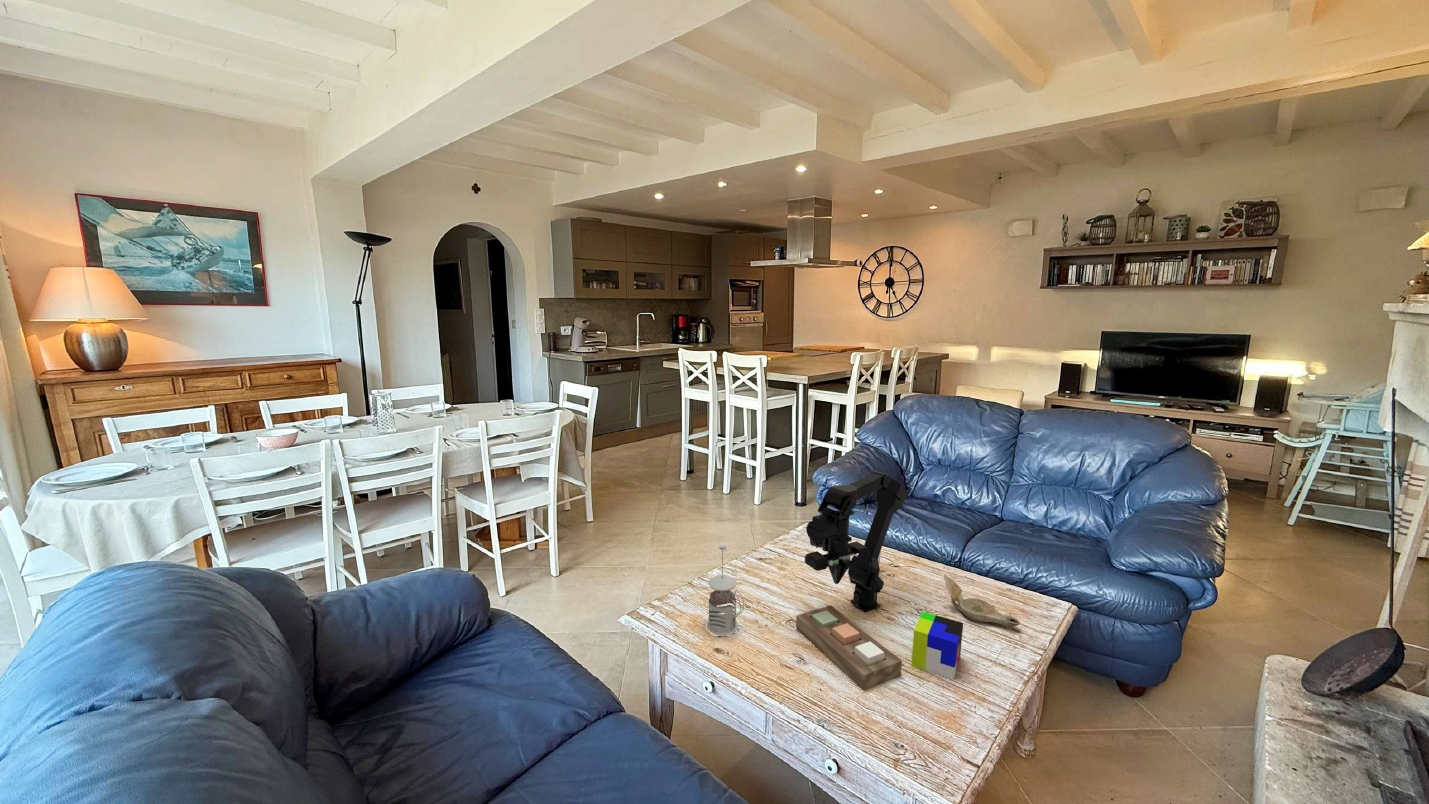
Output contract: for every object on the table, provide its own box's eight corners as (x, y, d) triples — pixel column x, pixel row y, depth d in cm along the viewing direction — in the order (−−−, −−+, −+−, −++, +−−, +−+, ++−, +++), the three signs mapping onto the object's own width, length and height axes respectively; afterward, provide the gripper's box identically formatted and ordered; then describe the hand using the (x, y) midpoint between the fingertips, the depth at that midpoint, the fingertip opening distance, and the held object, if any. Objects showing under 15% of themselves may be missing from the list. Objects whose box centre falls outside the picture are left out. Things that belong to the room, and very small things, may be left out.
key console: (830, 617, 162) (830, 605, 161) (900, 675, 137) (901, 660, 136) (796, 628, 157) (796, 615, 156) (863, 690, 132) (863, 675, 131)
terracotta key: (846, 633, 150) (847, 623, 149) (859, 643, 145) (859, 632, 145) (831, 638, 148) (832, 627, 147) (844, 648, 143) (844, 638, 143)
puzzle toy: (953, 680, 136) (956, 643, 134) (911, 665, 141) (913, 630, 139) (960, 657, 144) (963, 622, 142) (920, 645, 149) (922, 611, 147)
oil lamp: (946, 599, 172) (949, 569, 170) (1022, 626, 158) (1026, 593, 156) (936, 610, 166) (938, 579, 164) (1014, 639, 152) (1017, 606, 150)
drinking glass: (880, 578, 185) (882, 550, 183) (860, 576, 186) (861, 548, 184) (878, 569, 191) (880, 541, 189) (858, 567, 192) (860, 540, 191)
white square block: (869, 651, 142) (870, 641, 141) (883, 663, 137) (884, 652, 137) (854, 657, 140) (854, 646, 139) (867, 669, 135) (868, 658, 135)
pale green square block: (826, 620, 158) (826, 610, 157) (837, 629, 153) (837, 619, 153) (811, 624, 156) (812, 614, 155) (822, 634, 151) (822, 624, 151)
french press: (718, 613, 164) (718, 534, 160) (751, 626, 157) (752, 544, 153) (698, 629, 156) (697, 546, 152) (732, 644, 150) (733, 557, 145)
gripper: (846, 516, 166) (843, 564, 169) (794, 527, 158) (792, 578, 161) (871, 529, 156) (869, 580, 159) (817, 542, 148) (816, 596, 151)
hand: (836, 583), depth 158 cm, fingers closed
